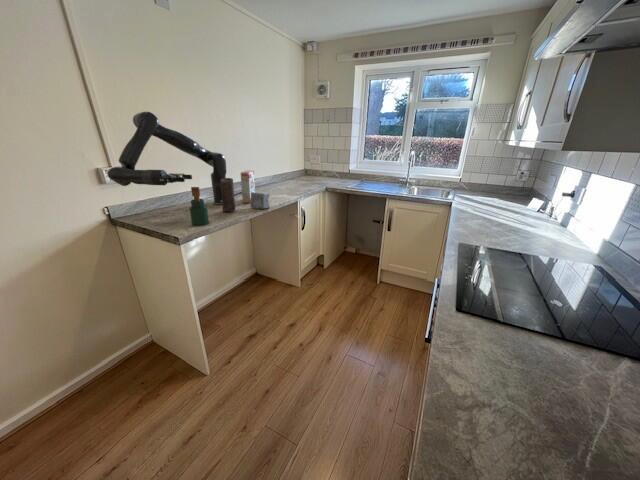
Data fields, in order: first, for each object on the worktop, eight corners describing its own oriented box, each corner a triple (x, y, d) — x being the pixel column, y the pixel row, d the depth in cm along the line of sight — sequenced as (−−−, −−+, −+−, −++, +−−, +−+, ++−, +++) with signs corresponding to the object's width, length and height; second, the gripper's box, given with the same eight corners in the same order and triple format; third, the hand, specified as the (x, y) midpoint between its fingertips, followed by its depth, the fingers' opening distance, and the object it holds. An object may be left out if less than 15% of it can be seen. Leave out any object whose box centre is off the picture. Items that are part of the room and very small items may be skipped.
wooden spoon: (197, 221, 138) (192, 186, 132) (204, 221, 139) (199, 186, 132) (195, 222, 136) (190, 187, 129) (202, 222, 136) (197, 187, 129)
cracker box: (251, 203, 180) (248, 172, 172) (242, 203, 180) (239, 172, 172) (256, 199, 193) (254, 170, 185) (248, 198, 193) (245, 170, 185)
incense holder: (270, 207, 171) (269, 191, 168) (263, 210, 164) (262, 194, 160) (257, 205, 174) (256, 190, 171) (250, 208, 167) (249, 192, 163)
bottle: (201, 220, 143) (197, 197, 138) (212, 222, 140) (209, 199, 135) (188, 224, 136) (184, 200, 131) (200, 226, 133) (196, 202, 128)
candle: (238, 210, 162) (235, 178, 155) (230, 213, 156) (227, 180, 148) (228, 209, 164) (224, 177, 157) (220, 212, 158) (216, 179, 150)
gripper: (144, 171, 120) (180, 172, 121) (160, 168, 133) (192, 168, 134) (148, 187, 123) (183, 188, 123) (163, 182, 136) (195, 183, 137)
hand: (188, 178), depth 129 cm, fingers open, 8 cm apart
